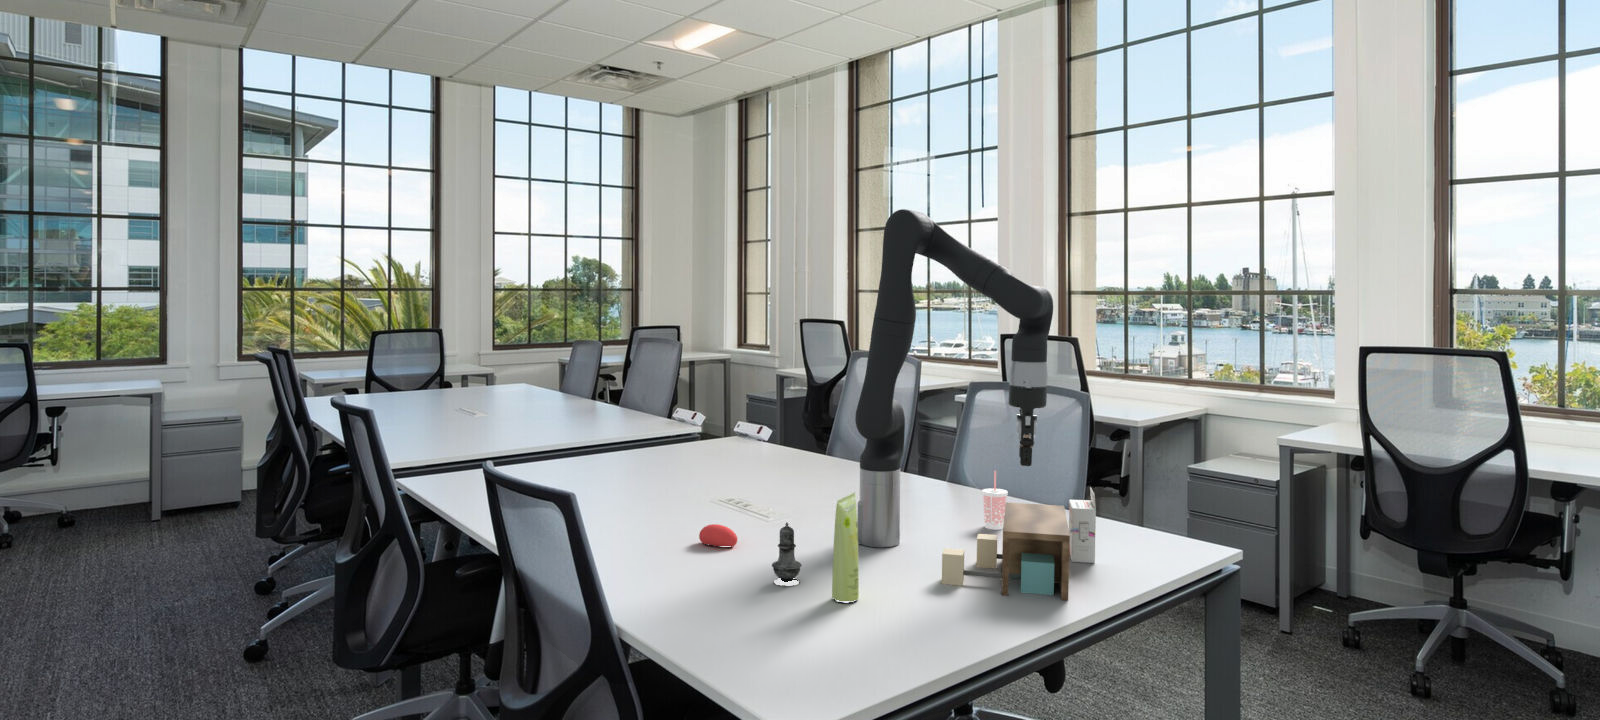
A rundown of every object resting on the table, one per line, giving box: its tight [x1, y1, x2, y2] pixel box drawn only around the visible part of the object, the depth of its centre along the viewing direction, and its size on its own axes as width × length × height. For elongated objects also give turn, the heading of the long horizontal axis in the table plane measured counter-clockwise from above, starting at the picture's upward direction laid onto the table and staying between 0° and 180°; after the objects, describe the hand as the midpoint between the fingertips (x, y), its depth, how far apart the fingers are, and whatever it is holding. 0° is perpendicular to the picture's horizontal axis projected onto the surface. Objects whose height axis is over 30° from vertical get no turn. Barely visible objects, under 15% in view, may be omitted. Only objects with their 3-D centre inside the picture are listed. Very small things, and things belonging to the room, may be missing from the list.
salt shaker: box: [771, 522, 803, 582], centre depth 172 cm, size 6×6×12 cm
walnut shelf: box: [1001, 501, 1070, 601], centre depth 175 cm, size 12×24×12 cm, turn 166°
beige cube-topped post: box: [976, 533, 1002, 569], centre depth 183 cm, size 15×6×6 cm, turn 76°
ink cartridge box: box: [1068, 487, 1097, 564], centre depth 190 cm, size 9×5×15 cm, turn 168°
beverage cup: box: [981, 470, 1009, 530], centre depth 215 cm, size 6×6×14 cm
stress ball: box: [698, 523, 738, 547], centre depth 198 cm, size 5×9×6 cm, turn 51°
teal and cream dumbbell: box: [941, 547, 1055, 596], centre depth 171 cm, size 21×6×6 cm, turn 76°
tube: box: [831, 491, 860, 601], centre depth 162 cm, size 6×5×20 cm
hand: (1025, 461), depth 181 cm, fingers open, 8 cm apart
